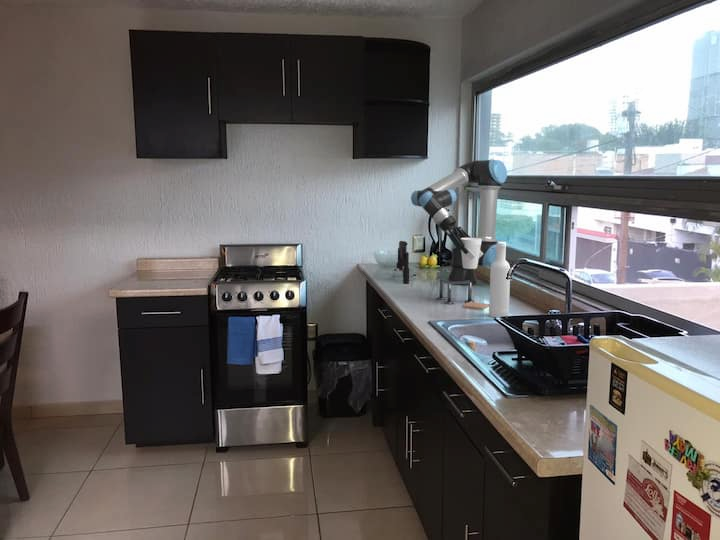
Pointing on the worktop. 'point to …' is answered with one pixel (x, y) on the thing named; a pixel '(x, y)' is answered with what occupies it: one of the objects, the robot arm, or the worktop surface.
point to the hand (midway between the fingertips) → (477, 257)
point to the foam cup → (474, 247)
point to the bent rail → (450, 291)
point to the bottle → (499, 283)
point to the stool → (403, 266)
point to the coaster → (475, 305)
